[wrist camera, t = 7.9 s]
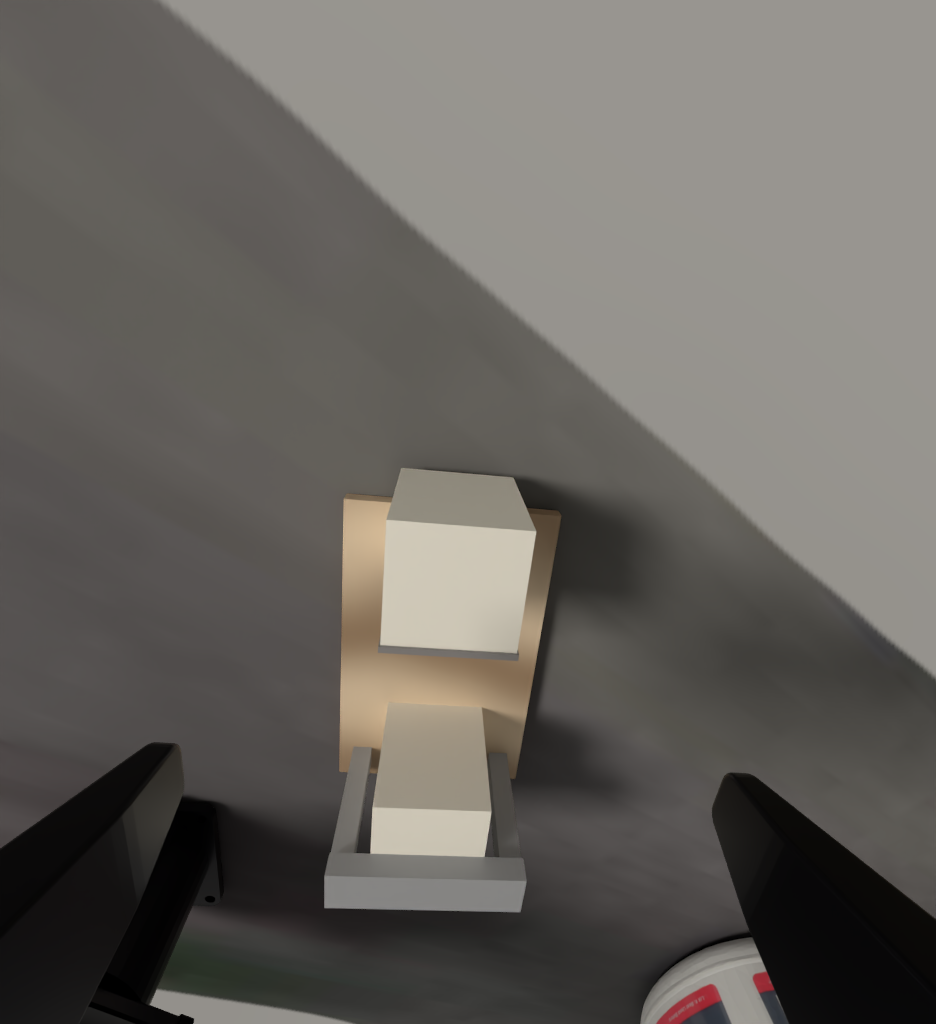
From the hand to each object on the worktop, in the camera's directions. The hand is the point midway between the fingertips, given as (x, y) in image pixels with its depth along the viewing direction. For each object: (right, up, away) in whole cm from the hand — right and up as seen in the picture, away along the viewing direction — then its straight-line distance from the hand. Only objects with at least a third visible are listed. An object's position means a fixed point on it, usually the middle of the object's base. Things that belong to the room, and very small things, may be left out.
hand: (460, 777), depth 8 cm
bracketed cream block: (-1, -6, +14) cm, 15 cm away
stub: (0, +4, +11) cm, 11 cm away
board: (-1, -1, +13) cm, 13 cm away
